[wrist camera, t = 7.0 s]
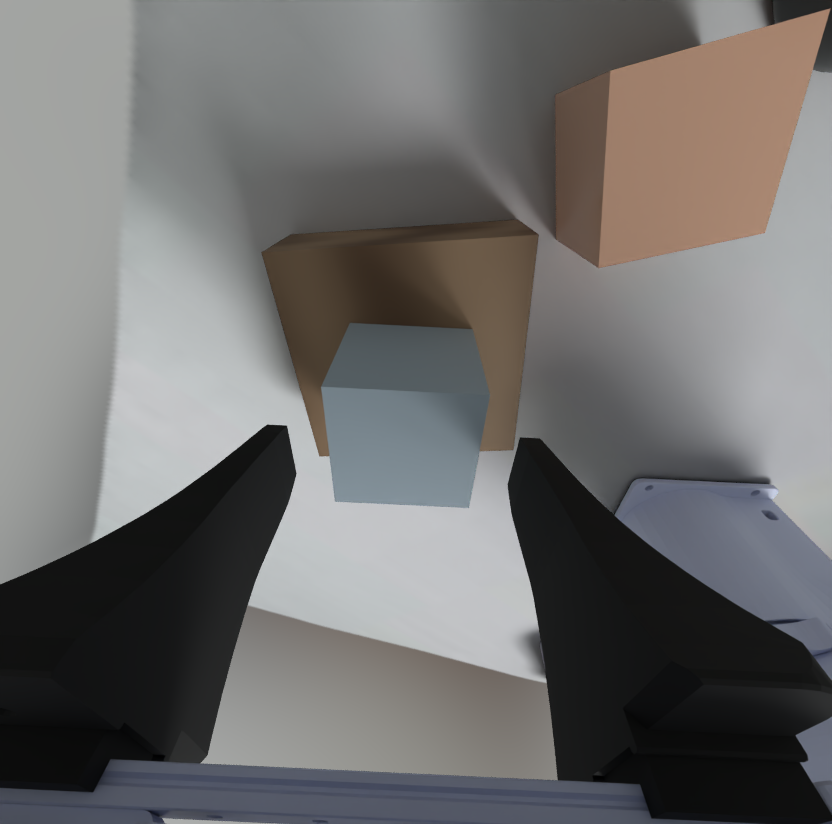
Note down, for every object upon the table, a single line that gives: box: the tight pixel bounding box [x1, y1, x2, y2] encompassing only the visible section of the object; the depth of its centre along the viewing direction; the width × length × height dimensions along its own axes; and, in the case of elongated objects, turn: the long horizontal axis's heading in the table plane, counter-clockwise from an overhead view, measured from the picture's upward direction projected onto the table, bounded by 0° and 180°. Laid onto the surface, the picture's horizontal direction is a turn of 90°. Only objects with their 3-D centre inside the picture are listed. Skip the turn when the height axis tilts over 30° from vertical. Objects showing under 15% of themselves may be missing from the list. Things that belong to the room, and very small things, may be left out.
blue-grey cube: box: [321, 323, 490, 508], centre depth 14 cm, size 5×5×5 cm
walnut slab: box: [262, 220, 539, 456], centre depth 18 cm, size 10×10×4 cm
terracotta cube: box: [555, 9, 830, 268], centre depth 13 cm, size 5×5×5 cm
